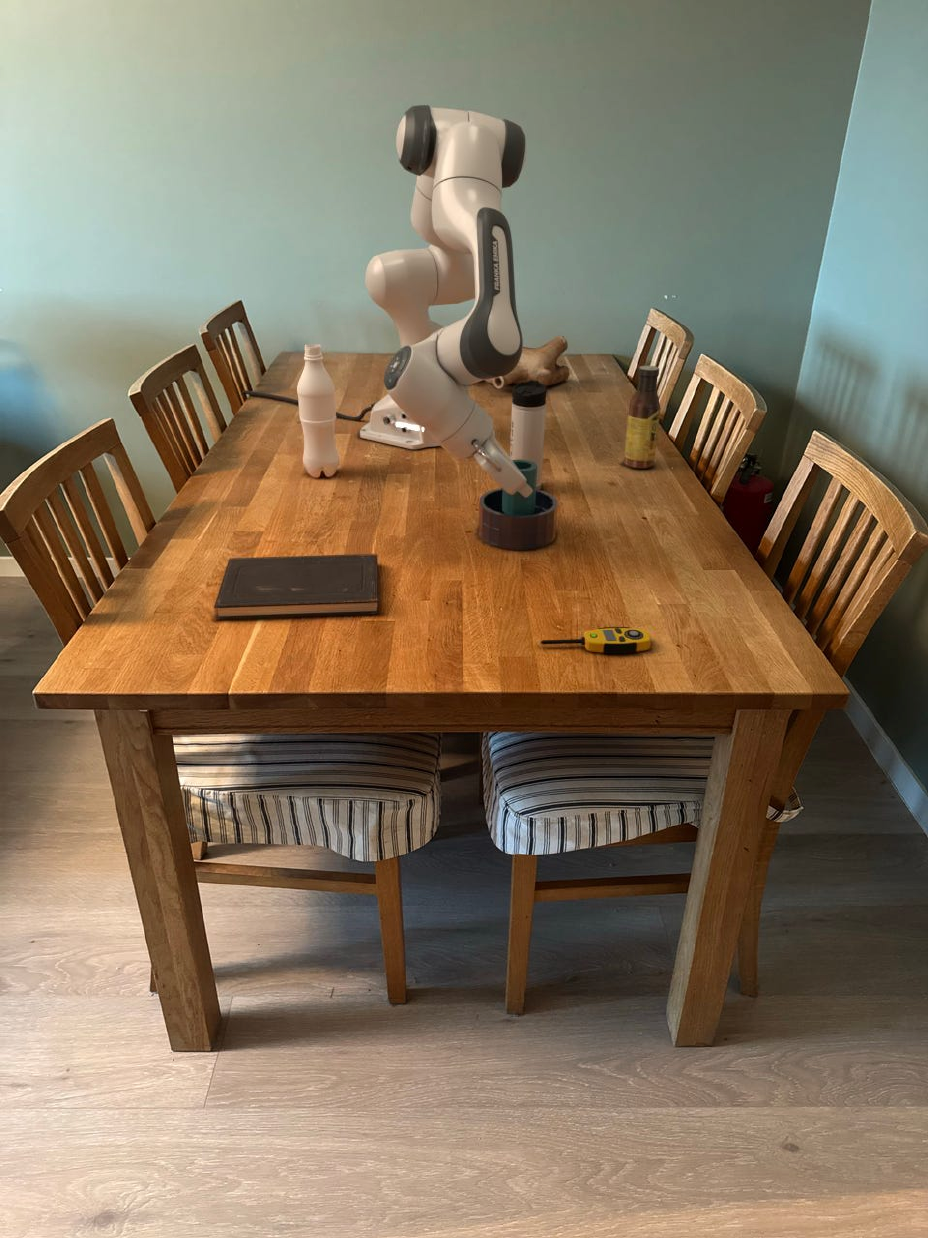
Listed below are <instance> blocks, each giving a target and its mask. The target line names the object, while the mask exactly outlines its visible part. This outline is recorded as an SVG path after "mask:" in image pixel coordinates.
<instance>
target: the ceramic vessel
mask: <svg viewBox="0 0 928 1238" xmlns="http://www.w3.org/2000/svg"><path fill="white" fill-rule="evenodd" d="M568 346H569V345H568V340H567V339H566V338H565V336H563V335H557V336H555V337H554V338H552V339H551V340H549V341H548V342H546V343H545V344H543V345H542V346H540V347H528V346H523V348H522V354H521V358H520V360H519V362H518V364H517V366H516V367H515V368H514V370H513V371H511V372H510V373H509V374H507V375H504V376H500V377H496V378H491V379H485V380H483V381H484V382H485V383H488V384H492V385H493V386H494V388H495V389H497V390H502V389H503V388H505V387H506V386H508V385H511V384H515V385H516V384H519V383H522V382H529V381H530V380H535V381H539V383H541V384H543V385H545V386H546V387H548V386H551V385H557V384H560V383H561V382H564V381H567V380H568V379H569V377H570V369H569V367H568V366H567V365H565V364H564V365H559V364H558V363H557V362H558V359H559V357H560V356H562V354H564V353H565V352H566V351H567V350H568Z"/></svg>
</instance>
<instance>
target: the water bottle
mask: <svg viewBox="0 0 928 1238" xmlns="http://www.w3.org/2000/svg"><path fill="white" fill-rule="evenodd" d="M323 359H324V356H323V353H322V346H321V344H320V343H319V344H318V343H308V344H305V345H304V357H303V360H304V361H305V362H304V368H303V370H302V373H301V375H300V377H299V380H298V382H297V384H296V385H297V387H296V393H297V397H298V398H297V400H298V401H299V404H298V413H299V421H300V424H301V427H302V432H303V434H302V435H303V444H304V445H303V455H302V463H303V465H302V466H303V467H304V469H305V471H306V473H307V474H309V475H310V476H311V477H313V478H317V479H318V478H320V476H321V474H322V473H321V472H323V473H324V475H325V477H327V478H330V477H333V476H334V475H335V473H336V472H337V470H338V468H339V465H340V455H339V451H338V447H337V443H336V436H335V435H336V433H335V431H336V430H335V428H336V420H337V416H336V412H337V411H336V409H337V408H336V395H335V392H336V388H335V385H334V382H333V380H332V379H331V376H330V375H329V373H328V371H327V370H326V368H325V366H324V363H323Z"/></svg>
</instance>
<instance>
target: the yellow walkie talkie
mask: <svg viewBox="0 0 928 1238" xmlns="http://www.w3.org/2000/svg"><path fill="white" fill-rule="evenodd" d="M540 644H541V645H569V644H572V645H573V644H581V646H584V648H585V650H587V652H594V653H603V654H606V655H628V654H629V655H630V654H635V653H637V652H642V651H647V650H649V649H650V647H651V644H652V639H651V635H650V633H649V632H648V631H647V630H646V629H641V628H633V627H631V628H630V627H629V626H604V627H598V628H595V629H591V630H586V631H584V633H583V637H582V636H581V638H573V639H543V640H541V641H540Z"/></svg>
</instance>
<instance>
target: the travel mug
mask: <svg viewBox="0 0 928 1238" xmlns="http://www.w3.org/2000/svg"><path fill="white" fill-rule="evenodd" d="M547 390H548V389H547V386H545V385H543V384H541V383H539V381H535V380H530V381H529V382H522V383H519V384H515V385H513V387H512V400H511V419H510V420H511V421H510V426H511V427H510V444H509V445H510V447H509V448H510V449H509V457H510V458H511V460H528V461H532V462H534V463H536V465H537V482H536V489H537V490H541V489H542V483H543V482H542V479H543V464H544V447H545V446H544V445H545V444H544V443H545V428H546V411H547V407H546V406H547Z"/></svg>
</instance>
